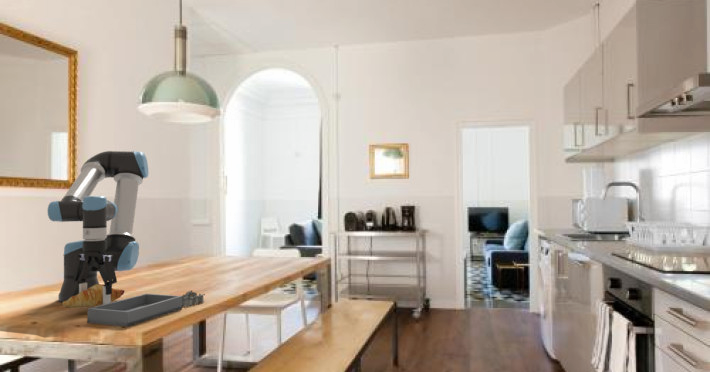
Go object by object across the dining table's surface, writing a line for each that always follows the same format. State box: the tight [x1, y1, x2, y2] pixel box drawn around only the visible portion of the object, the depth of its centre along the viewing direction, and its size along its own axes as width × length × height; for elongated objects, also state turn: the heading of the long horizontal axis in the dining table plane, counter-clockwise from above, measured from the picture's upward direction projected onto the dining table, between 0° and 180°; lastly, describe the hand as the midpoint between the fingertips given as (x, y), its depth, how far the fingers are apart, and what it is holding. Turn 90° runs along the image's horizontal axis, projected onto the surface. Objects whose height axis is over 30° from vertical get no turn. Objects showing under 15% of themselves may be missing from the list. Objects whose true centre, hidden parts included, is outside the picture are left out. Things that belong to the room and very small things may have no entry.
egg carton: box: [181, 290, 206, 307], centre depth 186 cm, size 11×8×4 cm
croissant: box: [61, 283, 125, 309], centre depth 173 cm, size 21×10×8 cm, turn 145°
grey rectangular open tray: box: [87, 293, 183, 327], centre depth 167 cm, size 16×26×4 cm, turn 161°
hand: (94, 302), depth 174 cm, fingers closed on croissant, 10 cm apart
